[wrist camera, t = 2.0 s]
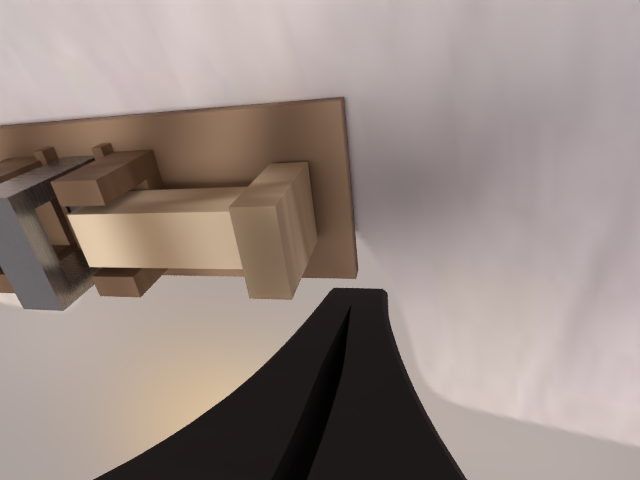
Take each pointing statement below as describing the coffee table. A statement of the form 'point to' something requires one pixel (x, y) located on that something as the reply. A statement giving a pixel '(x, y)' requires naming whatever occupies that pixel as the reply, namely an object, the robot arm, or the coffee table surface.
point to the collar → (39, 241)
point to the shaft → (210, 230)
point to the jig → (190, 172)
